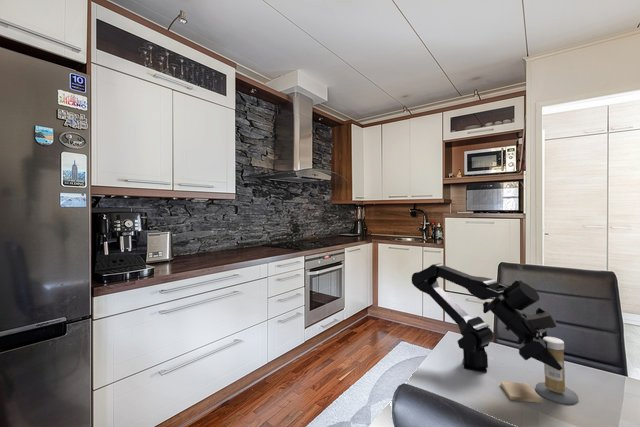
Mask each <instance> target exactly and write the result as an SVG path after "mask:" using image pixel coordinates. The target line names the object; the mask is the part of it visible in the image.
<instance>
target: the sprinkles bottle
mask: <svg viewBox="0 0 640 427" xmlns="http://www.w3.org/2000/svg"><path fill="white" fill-rule="evenodd" d="M543 341H544V343H545V342H546V341H547V348H548V350H549V352H550V353H551V354H552V355H553V357H554V358H555V359H556V360H557V362H558V363H559V364H560V365H561V367H562V369H561V370H557V369H555V368H553V367H551V366H549V365H547V364H545V363H543V364H544V367H543V368H544V380H545V381H544V382H545V387H547V388H548V389H549V390H551V391H554V392H558V393H563V392H565V391H566V389H565V387H566V382H565V381H566V370H565V369H566V368H565V355H564V350H565V342H564V340H562V339H560V338H557V337H554V336H547V337H544V338H543Z"/></svg>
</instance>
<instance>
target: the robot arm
mask: <svg viewBox="0 0 640 427" xmlns="http://www.w3.org/2000/svg"><path fill="white" fill-rule="evenodd" d="M439 278H441V279H442V280H445V281H447V282H450V283H453V284H454V285H458V286H460V287H462V288H464V289H466V290H467V292H468V293H469V294H471V295H472V296H474V297H476V298H477V299H478V300H482V301H485V302H483V304H482V307H483V308H482V311H483V312H482V313H484V314H488V313H489V312H491V313H492V314H493V315H494V316H495V317H496V318H497V320H500V322H502V324H503V325H504V326H505V327H504V329H505V330H506V331H507V332H509V331H510V332H511V333H512V334H513V335H514V336H516V338H517V342H518V343H519V348H518V355H519V356H520V357H521V358H522V359H523V360H524V361H528V360H529V359H534V360H536V361H538V362H541V363H543V364H544V363H545V364H547V365H549V366H551V367H553V368H555V369H557V370H561V369H562V367H561V365H560V364H559V363H558V362H557V360H556V359H555V358H554V357H553V355H552V354H551V353H550V352H549V350H548V348H547V341H546V342H545V343H544V341H543V338H544V337H548V331H547V330H546V329H554V328H557V326H558V325H557V321H556V319H555V317H554V316H553V314H552V312H551V311H549V310H547V309H545V308H544V307H541V306H540V307H537V308H535V313H532V314H531V315H528V314H526V313H525V312H523V310H525V309H527V308H528V307H530V306H532V305H533V304H535V303H537V302H538V301H540V296H539V293H538V292H537V290H536V289H535V288H533V287H532V286H531V285H529V284H527V283H525V282H523V281H522V280H521V279H518V280H515V281H513V283H512V284H511V285H509V286H506V285H504V284H500V283H499V281H498V280H496V279H493V278H490V277H484V276H475V275H471V274H468V273H465V272H463V271H460V270H457V269H456V268H455V269H454V268H452V267H449V266H447V265H445V264H443V263H434V264H431V265H429V266H428V267H427V268H424V269H422V270H421V271H418V272H417V271H416V272H414V273H413V274H412V275H411V284H412V285H413V287H415V288H416V289H417V290H419V291H420V292H422V293H425V294H427V295H428V296H429V297H431V298H432V299H433V301H435V303H436V304H437V305H438V306H439V307H440V308H441V309H442V310H443V311H444V312H445V313H446V314H447V315H448V316H449V317H450V318H451V319H452V321H454V322H455V324H456V325H457V326H458V328H459V332H460V335H461V336H462V337H461V338H459V339H458V340H457V344H458V348H460V349H462V357H463V358H462V363H463V370H470V371H475V372H476V371H477V372H482V373H483V372H484V373H487V372H488V368H489V360H488V353H487V351H486V350H485V348H487V347H489V345H490V343H492V342H493V340H494V335H493V334H494V333H493V330H492V329H491V328H490V325H489V324H487V323H486V322H485V321H484V320H483V319H482V317H480V316H475V317H473V316H470V315H469V314H468V313H467V312H466V311H465V310H464V309H463V308H462V307H461V306H460V305H459V304H458V303H457V302H456V301H455V300H453V298H452V297H450V295H449V294H448V293H447V292H445V291H444V290H443V289H442V287H440V284H439V281H438V279H439ZM501 296H502V297H501ZM499 297H501V298H499ZM489 299H492V300H491V301H487V300H489ZM520 311H522V312H520ZM540 330H545V331H544V332H541V331H540Z"/></svg>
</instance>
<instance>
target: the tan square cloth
mask: <svg viewBox="0 0 640 427" xmlns="http://www.w3.org/2000/svg"><path fill="white" fill-rule="evenodd" d="M500 386H501V387H502V389H503V390H504V392H505V394H506V395H507V396H508V398H509V400H510V401H517V402H519V401H520V402H526V403H528V402H530V403H539V404H541V403H542V399H541V397H540V396H539V395H538V394H537V393H536V391H535V390H534V389H533V388H532V386H531V385H530V384H529V383H525V382H511V381H500Z"/></svg>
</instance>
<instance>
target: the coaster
mask: <svg viewBox="0 0 640 427" xmlns="http://www.w3.org/2000/svg"><path fill="white" fill-rule="evenodd" d="M565 389H566V391H565V392H563V393H558V392H554V391H551V390H549V389H548V388H547V387H545V381H541V382H538V383H536V384H535V392H537V393H538V394H539V395H540V396H541V397H543V398H545V399H547V400H549V401H552V402H555V403H557V404H562V405H575V404H577V403H579V396H578V395H577V393H576V392H574V390H571V389H570V388H569V387H566V386H565Z"/></svg>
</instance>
